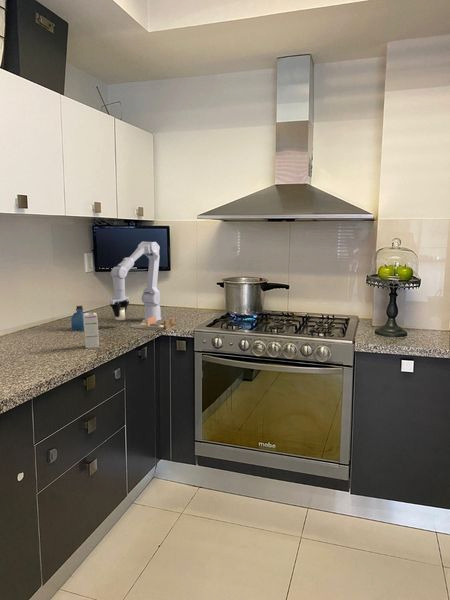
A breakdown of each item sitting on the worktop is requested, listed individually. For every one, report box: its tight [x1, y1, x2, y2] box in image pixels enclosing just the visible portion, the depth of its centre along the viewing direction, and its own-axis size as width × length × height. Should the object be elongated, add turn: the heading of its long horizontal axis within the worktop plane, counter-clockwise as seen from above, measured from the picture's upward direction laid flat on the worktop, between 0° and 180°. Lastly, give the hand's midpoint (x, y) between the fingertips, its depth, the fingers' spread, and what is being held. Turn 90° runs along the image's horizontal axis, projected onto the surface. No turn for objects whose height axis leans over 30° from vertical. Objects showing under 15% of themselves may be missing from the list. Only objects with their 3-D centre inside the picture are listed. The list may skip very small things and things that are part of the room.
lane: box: [130, 316, 177, 332], centre depth 238 cm, size 12×20×5 cm, turn 70°
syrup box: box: [83, 312, 100, 349], centre depth 197 cm, size 6×6×14 cm
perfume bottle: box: [70, 305, 87, 332], centre depth 231 cm, size 6×6×12 cm
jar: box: [114, 307, 126, 321], centre depth 237 cm, size 5×5×6 cm
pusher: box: [146, 316, 161, 327], centre depth 238 cm, size 9×5×4 cm, turn 160°
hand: (120, 315), depth 237 cm, fingers closed on jar, 5 cm apart
